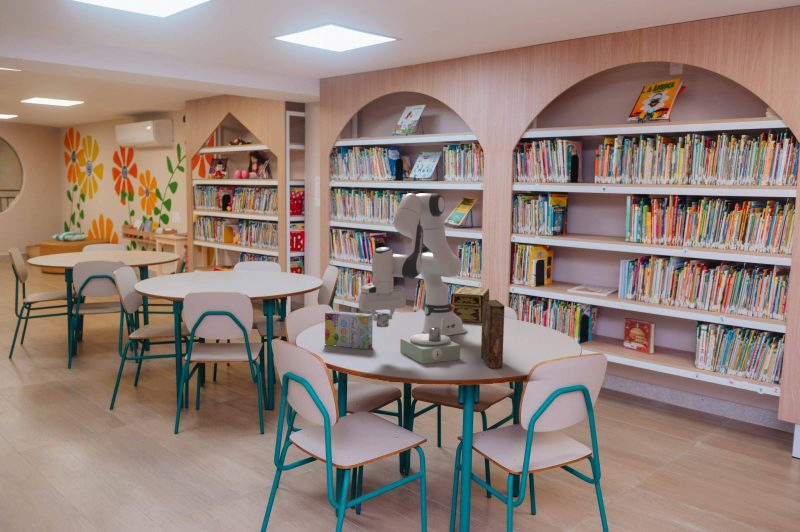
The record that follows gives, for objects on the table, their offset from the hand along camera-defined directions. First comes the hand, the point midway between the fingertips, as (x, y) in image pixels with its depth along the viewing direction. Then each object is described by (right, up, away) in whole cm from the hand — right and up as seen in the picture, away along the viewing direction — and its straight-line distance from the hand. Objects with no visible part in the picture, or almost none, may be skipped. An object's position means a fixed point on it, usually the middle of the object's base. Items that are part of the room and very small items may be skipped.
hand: (382, 319), depth 265 cm
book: (+45, -17, -4) cm, 48 cm away
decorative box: (+46, -6, +87) cm, 99 cm away
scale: (+20, -16, +6) cm, 26 cm away
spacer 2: (+22, -9, +1) cm, 23 cm away
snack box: (-16, -14, +20) cm, 29 cm away
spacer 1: (0, -3, 0) cm, 2 cm away
